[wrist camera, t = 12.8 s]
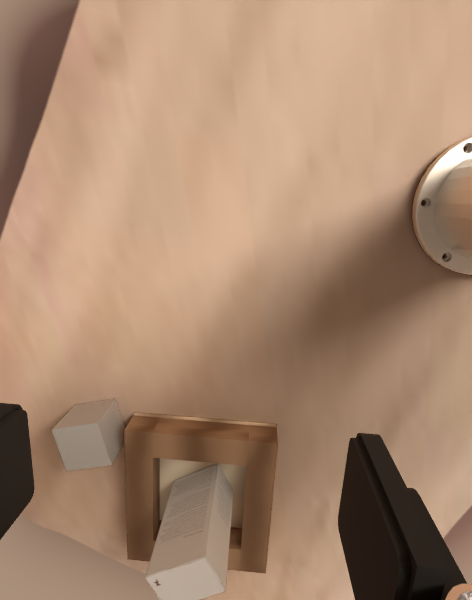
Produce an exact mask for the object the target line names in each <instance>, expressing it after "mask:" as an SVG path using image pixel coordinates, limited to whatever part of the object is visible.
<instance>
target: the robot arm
mask: <svg viewBox="0 0 472 600" xmlns="http://www.w3.org/2000/svg"><path fill="white" fill-rule="evenodd" d="M463 147H465V152H464V151H463ZM422 200H424V205H423V206H421V201H422ZM412 220H413V226H414V231H415V234H416V236H417V239H418V241H419V244H420V245H421V247H422V248H423V249H424V251H425V252H426V254H427V255H429V256H430V257H431V258H432V259H433V260H434V261H435V262H437V263H438V264H440V265H441V266H443V267H445V268H447V269H450V270H452V271H455V272H459V273H463V274H467V275H472V136H471V137H468V138H466V139H463V140H461V141H459V142H458V143H456V144H454V145H452V146H450V147H449V148H448V149H447V150H445V151H444V152H443V153H442V154H440V155H439V156H438V157H437V158H436V159H435V160H434V162H433V163H432V164H431V165H430V166H429V167H428V169H427V170H426V172H425V174H424V175H423V177H422V178H421V180H420V183H419V185H418V188H417V190H416V192H415V197H414V202H413V211H412ZM443 254H445V257H444V258H442V256H443ZM33 493H34V478H33V468H32V458H31V448H30V438H29V428H28V418H27V413H26V411H24V410H22V407H21V406H20V405H18V404H6V403H0V539H1V538H2V537H3V536H4V534H5V533H6V532H7V530H8V529H9V528H10V527H11V525H12V524H13V523H14V521H15V520H16V519H17V517H18V516H19V515H20V514H21V512H22V511H23V510H24V508H25V507H26V506H27V505H28V503H29V502H30V500H31V498H32V496H33ZM338 527H339V533H340V537H341V542H342V546H343V550H344V554H345V559H346V563H347V567H348V571H349V576H350V580H351V584H352V588H353V592H354V597H355V600H472V584H467V582H466V581H465V579H464V577H463V575H462V573H461V571H460V570H459V568H458V566H457V564H456V562H455V560H454V558H453V557H452V555H451V553H450V551H449V549H448V547H447V545H446V544H445V542H444V540H443V538H442V536H441V534H440V532H439V531H438V529H437V527H436V525H435V523H434V521H433V520H432V518H431V516H430V514H429V512H428V510H427V508H426V507H425V505H424V503H423V501H422V499H421V497H420V495H419V494H418V493H417V491H416V490H415V489H413V488H407V487H406V485H405V483H404V481H403V479H402V477H401V475H400V473H399V471H398V469H397V467H396V465H395V463H394V461H393V459H392V458H391V456H390V454H389V452H388V450H387V448H386V446H385V444H384V442H383V440H382V438H381V436H380V435H377V434H365V433H358V434H357V436H356V438H350V441H349V447H348V454H347V461H346V468H345V474H344V481H343V488H342V495H341V501H340V508H339V515H338Z"/></svg>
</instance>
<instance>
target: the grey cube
mask: <svg viewBox="0 0 472 600" xmlns="http://www.w3.org/2000/svg"><path fill="white" fill-rule="evenodd" d="M124 430H125V426H124V423H123V420H122V417H121V414H120V410H119V407H118V404H117V401H116V398H114V399H108V400H102V401H96V402H90V403H83V404H77V405H74V406H73V407H72V408H71V409H70V410H69V412H68V413H67V414H66V415H65V416H64V417H63V418H62V419H61V420H60V421H59V422H58V423H57V425H56V426H55V427H54V428H53V429H52V433H53V435H54V438H55V441H56V444H57V447H58V449H59V452H60V455H61V458H62V460H63V463H64V466H65V469H66V471H74V470H81V469H88V468H95V467H102V466H109V465H112V463H113V462H114V460H115V458H116V456H117V455H118V453H119V451H120V449H121V448H122V446H123V444H124V442H125V438H124Z"/></svg>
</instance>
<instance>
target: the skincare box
mask: <svg viewBox="0 0 472 600" xmlns="http://www.w3.org/2000/svg"><path fill="white" fill-rule="evenodd" d="M232 503H233V488H232V486H231V485H230V483H229V481H228V480H227V478H226V476H225V475H224V473H223V471H222V469H221V468H220V466H219V464H218V463H217V464H215V465H212V466H210V467H207V468H205V469H202V470H200V471H197V472H195V473H192V474H190V475H187V476H185V477H182V478H180V479H177V480H175V481H174V482H173V485H172V489H171V492H170V495H169V499H168V502H167V506H166V509H165V512H164V515H163V519H162V522H161V526H160V529H159V532H158V536H157V539H156V543H155V546H154V549H153V553H152V556H151V559H150V563H149V566H148V569H147V573H146V576H145V579H146V580H147V582H148V583H149V585H150V586H151V587H152V589H153V590H154V592H155V593H156V595H157V596H158V598H159V599H160V600H201V599H204V598H207V597H210V596H213V595H216V594H219V593H222V592H225V590H226V581H227V567H228V554H229V541H230V529H231V516H232Z"/></svg>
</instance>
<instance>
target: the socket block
mask: <svg viewBox="0 0 472 600" xmlns="http://www.w3.org/2000/svg"><path fill="white" fill-rule="evenodd" d="M124 438H125V476H126V515H127V554H128V559H131V560H141V561H150V559H151V556H152V553H153V549H154V546H155V543H156V539H157V536H158V532H159V529H160V526H161V522H162V519H163V515H164V512H165V509H166V506H167V502H168V499H169V495H170V492H171V489H172V485H173V482H174V481H175V480H177V479H180V478H182V477H185V476H187V475H190V474H192V473H195V472H197V471H200V470H202V469H205V468H207V467H210V466H212V465H215V464H217V463H218V464H219V466H220V468H221V469H222V471H223V473H224V475H225V476H226V478H227V480H228V481H229V483H230V485H231V486H232V488H233V503H232V516H231V529H230V541H229V554H228V567H227V569H228V570H238V571H248V572H257V573H266V564H267V553H268V543H269V532H270V521H271V510H272V499H273V489H274V478H275V467H276V456H277V446H278V441H277V426H276V424H269V423H257V422H245V421H233V420H221V419H209V418H197V417H185V416H173V415H161V414H149V413H137V412H135V413H134V415H133V417H132V418H131V420H130V422H129V423H128V425H127V427H126V428H125V430H124Z"/></svg>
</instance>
